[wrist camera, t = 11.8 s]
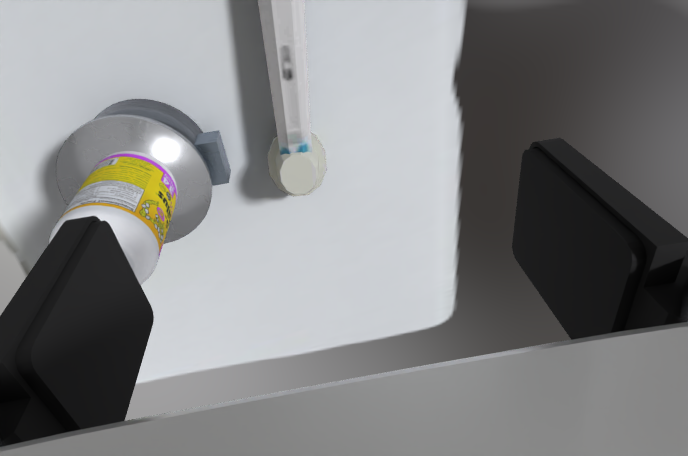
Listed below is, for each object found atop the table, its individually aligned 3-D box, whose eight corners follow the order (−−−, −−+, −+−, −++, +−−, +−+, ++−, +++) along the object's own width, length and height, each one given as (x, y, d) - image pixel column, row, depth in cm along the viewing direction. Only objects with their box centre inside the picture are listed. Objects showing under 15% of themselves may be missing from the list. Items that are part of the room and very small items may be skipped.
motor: (55, 105, 39) (26, 131, 35) (207, 81, 40) (199, 103, 35) (112, 221, 46) (94, 255, 42) (242, 199, 47) (238, 231, 42)
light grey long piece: (308, -153, 29) (332, 210, 40) (304, -127, 35) (326, 183, 46) (223, -150, 29) (271, 216, 40) (233, -125, 34) (273, 187, 46)
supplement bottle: (173, 225, 41) (140, 335, 30) (90, 208, 39) (25, 320, 28) (185, 158, 37) (153, 256, 27) (95, 137, 36) (23, 234, 25)
